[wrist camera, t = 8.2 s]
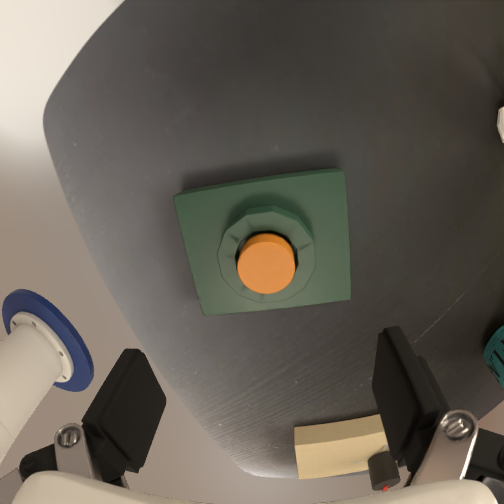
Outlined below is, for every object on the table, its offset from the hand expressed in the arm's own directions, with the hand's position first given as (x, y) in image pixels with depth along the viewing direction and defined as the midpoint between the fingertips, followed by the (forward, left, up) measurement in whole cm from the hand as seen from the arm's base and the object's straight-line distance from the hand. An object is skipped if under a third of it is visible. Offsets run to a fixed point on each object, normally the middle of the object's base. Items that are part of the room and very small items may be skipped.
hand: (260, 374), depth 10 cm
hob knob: (+12, -33, -11) cm, 37 cm away
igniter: (0, 0, -14) cm, 14 cm away
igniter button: (0, 0, -11) cm, 11 cm away
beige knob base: (+8, -31, -14) cm, 35 cm away
